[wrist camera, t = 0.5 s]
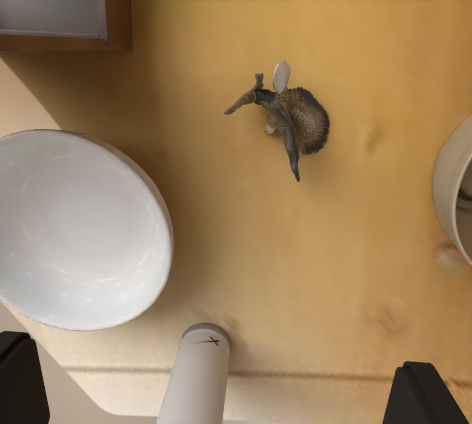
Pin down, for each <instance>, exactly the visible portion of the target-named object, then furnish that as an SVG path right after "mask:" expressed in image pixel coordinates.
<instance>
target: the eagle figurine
mask: <svg viewBox="0 0 472 424" xmlns="http://www.w3.org/2000/svg"><path fill="white" fill-rule="evenodd" d="M290 73H291V70H290V66H289V65H288V64H287V62H286V61H283V60H282V61H281V62H279V63H278V64H277V66H276V68H275V71H274V74H273V86H274V89H275V92H271V91H269V90H265V89H263V90H262V87H263V83H262V80H263V73H261V74H260V75H259V74H255V76H256V80H257V82H256V85H255V86H254V88H253V89H251V90H250V91H249V92H247V93H246V94H244V95H243V96H242V97H241V98H239V99H238V100H237V101H236V102H235V103H234V104H233V105H232V106H231V107H230V108H229V109H227V110H226V111H225V112H224V114H225V115H229V114H232V113H233V112H234V111H236V110H237V109H238V108H240V107H241V106H242V105H244V104H249V103H253V102H254V103H256V104H257V105H263V107H265V108H266V110H267V111H268V114H267V130H266V131H265V133H266V134H271V133H273V132H274V131H275V130H276V128H277V129H278V130H279V132H280V133H281V135H282V138H283V140H284V144H285V148H286V151H287V153H288V155H289V159H290V164H291V169H292V171H293V173H294V174H295V177H296V179H297V181H298V182H299V181H300V177H299V172H298V160H299V145H300V147H301V151H302V153H303V154H306V153H309V154H311V153H312V152H313V151H314V152H318V151H319V149H322V148H323V143H324V142H326V140H327V137H326V134H327V133H328V132H329V131H328V128H329V120H328V115H327V114H326V113H327V112H326V111H325V110H324V109H323V107H322V106H321V105H320V104H319V103H318V102H317V100H316V99H315V98H313V95H312V94H311V93H310V92H309V91H307V90H305V89H303V88H302V87H301V88H299V87H297V89H293V90H291V89H289V90H288V88H287V84H288V79H289V76H290ZM298 140H299V143H298Z"/></svg>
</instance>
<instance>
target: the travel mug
mask: <svg viewBox="0 0 472 424" xmlns="http://www.w3.org/2000/svg"><path fill="white" fill-rule="evenodd" d="M230 347H231V344H230V339H229V337H228V335H227V334H226V333H225V332H224V331H223V330H222V329H221V328H219V327H217V326H215V325H212V324H197V325H194V326H192V327H190V328H189V329H187V330H186V332H185V333H184V334H183V337H182V340H181V343H180V346H179V349H178V353H177V356H176V359H175V363H174V366H173V369H172V373H171V376H170V379H169V382H168V386H167V389H166V392H165V396H164V399H163V402H162V405H161V409H160V412H159V415H158V419H157V422H156V424H222V420H223V411H224V402H225V393H226V384H227V375H228V366H229V355H230Z"/></svg>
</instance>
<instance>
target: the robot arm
mask: <svg viewBox="0 0 472 424" xmlns="http://www.w3.org/2000/svg"><path fill="white" fill-rule="evenodd" d="M49 419H50V411H49V406H48V401H47V396H46V391H45V386H44V381H43V376H42V371H41V366H40V361H39V356H38V351H37V346H36V342H35V341H34V340H33V339H31V337H30V335H29V334H28V333H25V332H11V331H4V332H1V333H0V424H48V423H49ZM382 424H469V422H468V421H467V419H466V417H465V416H464V414H463V413H462V411H461V409H460V408H459V406H458V404H457V403H456V401H455V400H454V398H453V396H452V395H451V393H450V391H449V390H448V388H447V387H446V385H445V383H444V382H443V380H442V378H441V377H440V375H439V374H438V372H437V370H436V369H435V367H434V366H433V365H432V364H431V363H423V362H410V361H406V362H405V363H404V364H403V367H398V368H397V369H396V372H395V376H394V380H393V384H392V388H391V391H390V395H389V399H388V403H387V407H386V411H385V415H384V419H383V423H382Z"/></svg>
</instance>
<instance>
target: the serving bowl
mask: <svg viewBox="0 0 472 424" xmlns="http://www.w3.org/2000/svg"><path fill="white" fill-rule="evenodd" d="M173 253H174V234H173V227H172V222H171V218H170V214H169V211H168V208H167V206H166V203H165V201H164V199H163V197H162V195H161V193H160V191H159V190H158V188H157V187H156V185H155V184H154V182H153V181H152V179H151V178H150V177H149V176H148V175H147V173H146V172H145V171H144V170H143V169H142V168H141V167H140V166H139V165H138V164H137V163H136V162H135V161H133V160H132V159H131V158H130V157H128V156H127V155H126V154H124V153H123V152H121V151H120V150H118V149H117V148H115V147H113V146H111V145H109V144H107V143H105V142H103V141H101V140H99V139H96V138H93V137H91V136H87V135H84V134H80V133H76V132H70V131H64V130H50V129H35V130H27V131H21V132H16V133H13V134H10V135H7V136H4V137H2V138H0V300H2V301H3V302H4V303H5V304H7V305H8V306H10V307H11V308H13V309H14V310H16V311H17V312H19V313H21V314H23V315H25V316H26V317H28V318H31V319H33V320H35V321H37V322H40V323H43V324H45V325H49V326H52V327H56V328H60V329H65V330H73V331H97V330H104V329H109V328H113V327H117V326H120V325H122V324H125V323H127V322H129V321H131V320H133V319H135V318H137V317H138V316H140V315H141V314H143V313H144V312H145V311H146V310H147V309H149V308H150V307H151V306H152V305H153V303H154V302H155V301H156V300H157V299H158V297H159V296H160V294H161V293H162V291H163V289H164V287H165V285H166V283H167V280H168V278H169V274H170V270H171V266H172V260H173Z"/></svg>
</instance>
